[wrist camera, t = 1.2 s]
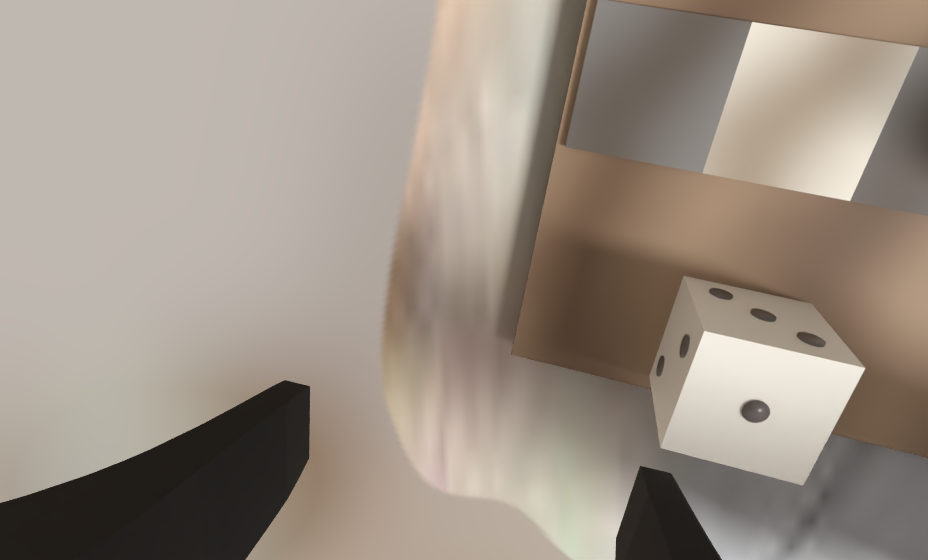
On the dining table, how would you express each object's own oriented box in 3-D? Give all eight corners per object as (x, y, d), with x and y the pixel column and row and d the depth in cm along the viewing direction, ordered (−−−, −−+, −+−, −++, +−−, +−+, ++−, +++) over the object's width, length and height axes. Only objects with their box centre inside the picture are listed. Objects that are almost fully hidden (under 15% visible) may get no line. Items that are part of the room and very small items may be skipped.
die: (812, 301, 18) (867, 367, 14) (765, 404, 19) (804, 487, 16) (682, 273, 18) (703, 329, 15) (647, 375, 20) (658, 448, 16)
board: (1541, -61, 12) (1617, -70, 11) (1093, 486, 19) (1118, 508, 18) (622, -159, 15) (623, -173, 14) (514, 344, 22) (510, 356, 21)
